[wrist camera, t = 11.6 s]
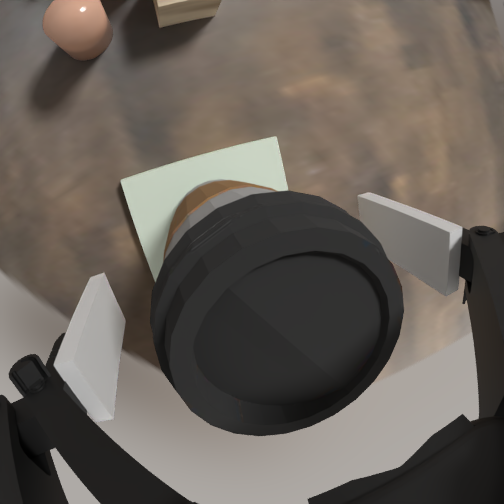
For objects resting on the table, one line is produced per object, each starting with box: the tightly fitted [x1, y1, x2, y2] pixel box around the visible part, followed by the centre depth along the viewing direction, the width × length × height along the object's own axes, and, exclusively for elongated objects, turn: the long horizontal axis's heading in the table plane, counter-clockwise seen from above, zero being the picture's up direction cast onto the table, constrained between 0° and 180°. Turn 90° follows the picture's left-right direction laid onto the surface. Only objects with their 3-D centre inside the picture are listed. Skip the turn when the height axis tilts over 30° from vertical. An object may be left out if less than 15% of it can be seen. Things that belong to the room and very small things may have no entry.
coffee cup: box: [150, 179, 404, 436], centre depth 16 cm, size 8×8×15 cm
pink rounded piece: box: [43, 0, 113, 61], centre depth 14 cm, size 4×4×5 cm
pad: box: [121, 137, 288, 282], centre depth 23 cm, size 12×11×1 cm
